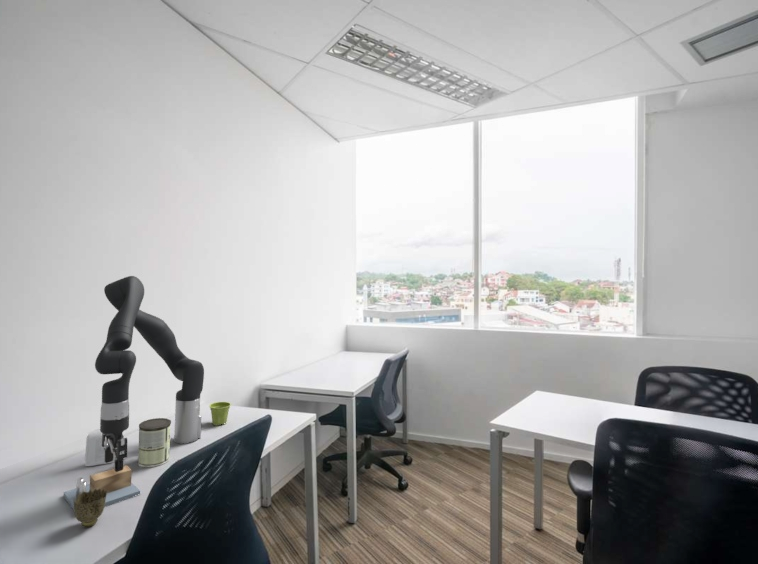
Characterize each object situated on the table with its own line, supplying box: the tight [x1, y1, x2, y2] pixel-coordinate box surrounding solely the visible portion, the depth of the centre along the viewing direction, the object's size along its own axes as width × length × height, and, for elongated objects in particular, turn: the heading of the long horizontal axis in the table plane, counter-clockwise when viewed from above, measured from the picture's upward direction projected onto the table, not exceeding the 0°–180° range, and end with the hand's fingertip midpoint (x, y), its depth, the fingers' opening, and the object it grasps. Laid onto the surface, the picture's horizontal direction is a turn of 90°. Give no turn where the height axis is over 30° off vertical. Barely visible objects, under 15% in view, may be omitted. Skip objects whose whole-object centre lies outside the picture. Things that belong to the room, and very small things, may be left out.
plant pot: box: [208, 401, 232, 426], centre depth 189 cm, size 9×9×9 cm
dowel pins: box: [75, 477, 87, 498], centre depth 121 cm, size 2×5×5 cm, turn 50°
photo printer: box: [84, 428, 117, 467], centre depth 146 cm, size 10×4×12 cm, turn 123°
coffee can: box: [137, 417, 172, 468], centre depth 149 cm, size 10×10×14 cm
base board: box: [63, 482, 141, 511], centre depth 125 cm, size 16×15×1 cm
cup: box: [73, 489, 107, 528], centre depth 111 cm, size 8×7×8 cm
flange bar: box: [89, 465, 133, 493], centre depth 127 cm, size 10×4×5 cm, turn 140°
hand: (113, 466), depth 127 cm, fingers open, 8 cm apart
